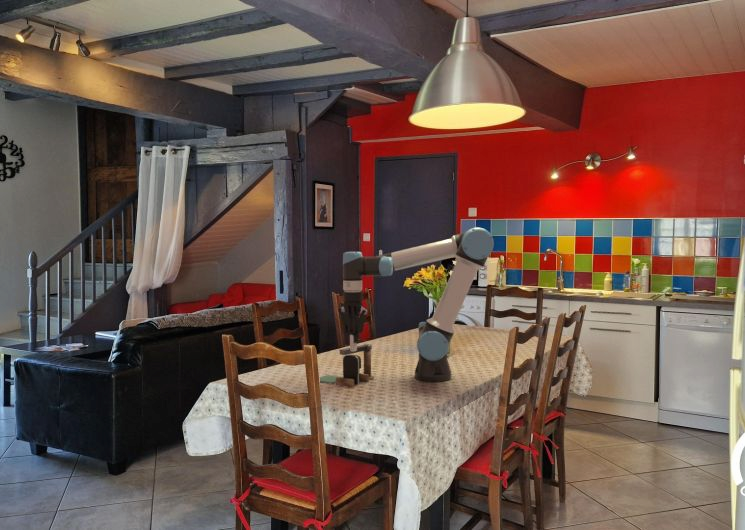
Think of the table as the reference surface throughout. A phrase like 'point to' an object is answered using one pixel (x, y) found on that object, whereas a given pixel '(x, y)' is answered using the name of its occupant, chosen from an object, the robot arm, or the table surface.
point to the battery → (352, 367)
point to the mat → (328, 379)
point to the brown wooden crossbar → (359, 349)
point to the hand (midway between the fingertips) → (353, 350)
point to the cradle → (362, 377)
